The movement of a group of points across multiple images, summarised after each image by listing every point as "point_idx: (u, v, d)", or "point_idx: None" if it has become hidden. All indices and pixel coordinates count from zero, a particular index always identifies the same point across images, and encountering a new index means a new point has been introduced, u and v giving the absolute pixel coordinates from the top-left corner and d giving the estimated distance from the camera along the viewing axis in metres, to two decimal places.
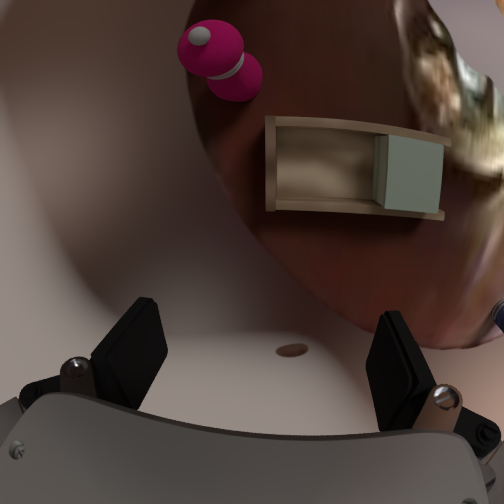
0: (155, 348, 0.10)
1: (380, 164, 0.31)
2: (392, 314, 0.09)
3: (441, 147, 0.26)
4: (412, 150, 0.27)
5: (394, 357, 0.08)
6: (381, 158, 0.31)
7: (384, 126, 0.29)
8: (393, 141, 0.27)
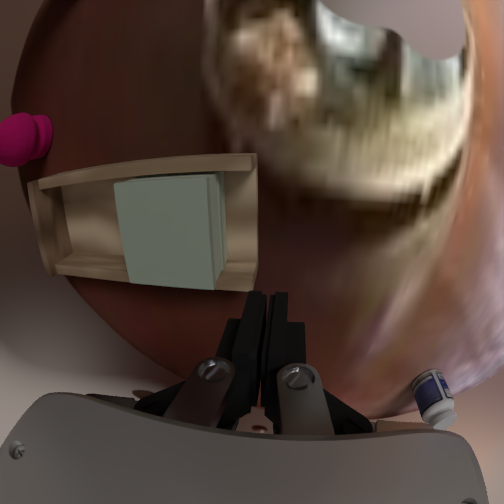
0: (264, 341, 0.11)
1: None
2: (278, 294, 0.11)
3: (204, 181, 0.19)
4: (149, 199, 0.20)
5: None
6: None
7: (129, 165, 0.22)
8: (120, 192, 0.20)
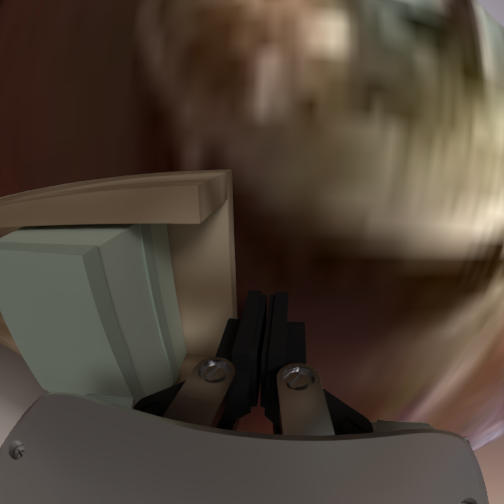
0: (264, 341, 0.11)
1: None
2: (278, 294, 0.11)
3: (84, 263, 0.07)
4: (16, 284, 0.08)
5: None
6: None
7: (8, 208, 0.09)
8: None
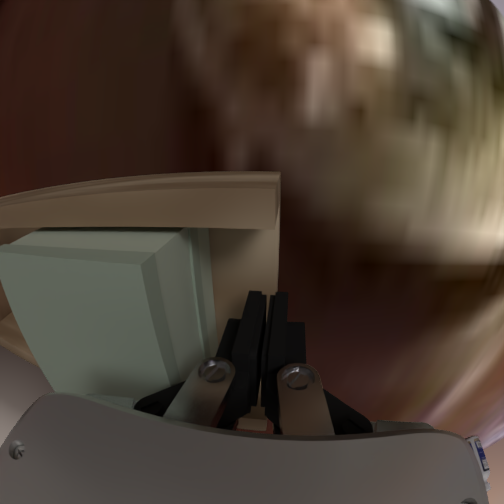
0: (264, 341, 0.11)
1: None
2: (278, 294, 0.11)
3: (140, 273, 0.07)
4: (40, 294, 0.07)
5: None
6: None
7: (26, 207, 0.09)
8: (2, 269, 0.07)
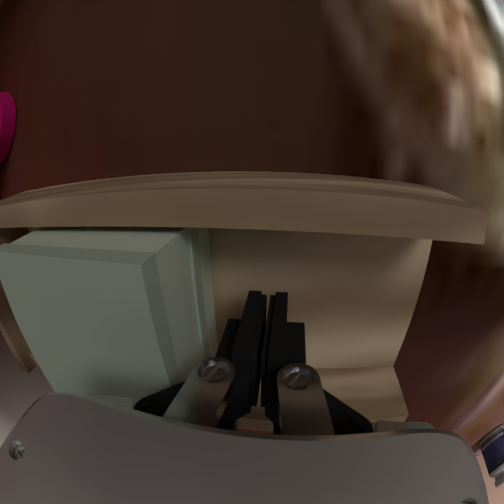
0: (264, 341, 0.11)
1: None
2: (278, 294, 0.11)
3: (140, 273, 0.07)
4: (40, 294, 0.07)
5: None
6: None
7: (170, 196, 0.08)
8: (2, 268, 0.07)
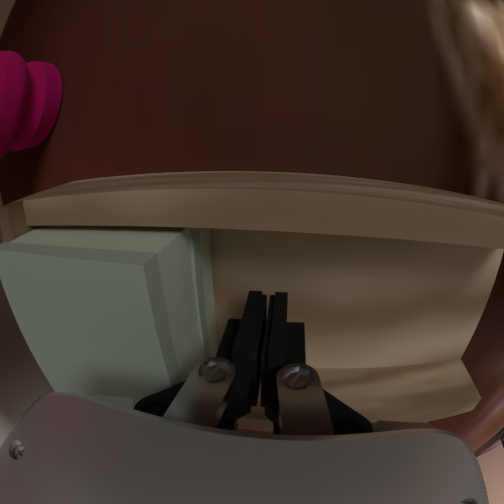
0: None
1: None
2: (278, 294, 0.11)
3: (142, 273, 0.07)
4: (41, 293, 0.07)
5: None
6: None
7: (372, 204, 0.07)
8: (2, 267, 0.07)
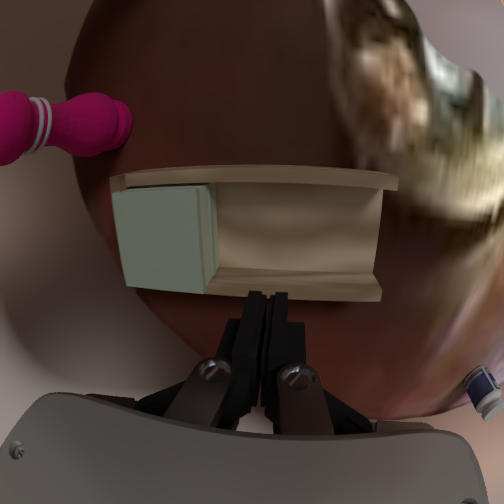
0: (264, 341, 0.11)
1: None
2: (278, 294, 0.11)
3: (194, 192, 0.21)
4: (144, 208, 0.22)
5: None
6: None
7: (272, 170, 0.22)
8: (118, 201, 0.22)
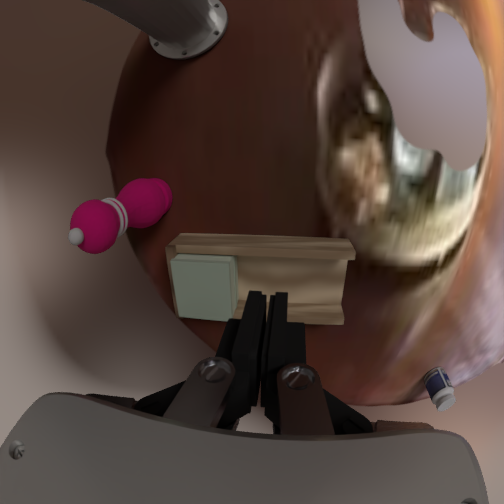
0: (264, 341, 0.11)
1: None
2: (278, 294, 0.11)
3: (227, 265, 0.35)
4: (194, 272, 0.36)
5: None
6: None
7: (275, 250, 0.36)
8: (175, 266, 0.36)
